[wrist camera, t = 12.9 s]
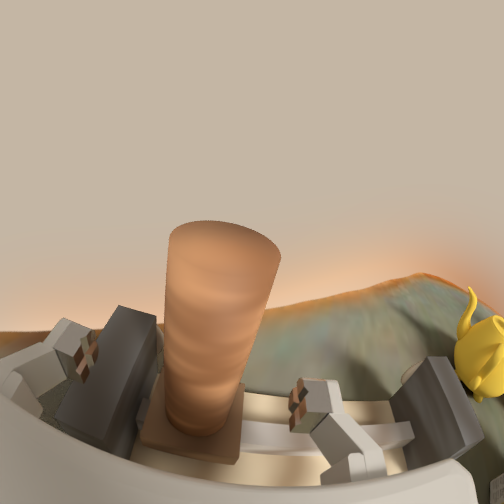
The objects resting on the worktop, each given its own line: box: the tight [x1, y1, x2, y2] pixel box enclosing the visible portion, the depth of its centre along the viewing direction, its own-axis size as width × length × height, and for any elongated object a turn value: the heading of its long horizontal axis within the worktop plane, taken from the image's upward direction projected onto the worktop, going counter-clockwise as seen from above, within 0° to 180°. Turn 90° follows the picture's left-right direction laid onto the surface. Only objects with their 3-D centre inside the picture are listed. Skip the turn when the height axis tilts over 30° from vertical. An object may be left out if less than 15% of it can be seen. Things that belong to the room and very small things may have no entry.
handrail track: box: [54, 305, 485, 486], centre depth 16 cm, size 30×11×8 cm, turn 87°
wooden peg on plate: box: [140, 221, 281, 465], centre depth 13 cm, size 6×6×16 cm
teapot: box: [454, 286, 504, 403], centre depth 25 cm, size 20×15×12 cm
